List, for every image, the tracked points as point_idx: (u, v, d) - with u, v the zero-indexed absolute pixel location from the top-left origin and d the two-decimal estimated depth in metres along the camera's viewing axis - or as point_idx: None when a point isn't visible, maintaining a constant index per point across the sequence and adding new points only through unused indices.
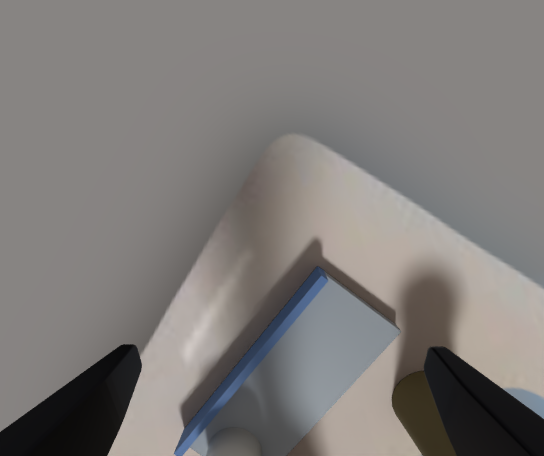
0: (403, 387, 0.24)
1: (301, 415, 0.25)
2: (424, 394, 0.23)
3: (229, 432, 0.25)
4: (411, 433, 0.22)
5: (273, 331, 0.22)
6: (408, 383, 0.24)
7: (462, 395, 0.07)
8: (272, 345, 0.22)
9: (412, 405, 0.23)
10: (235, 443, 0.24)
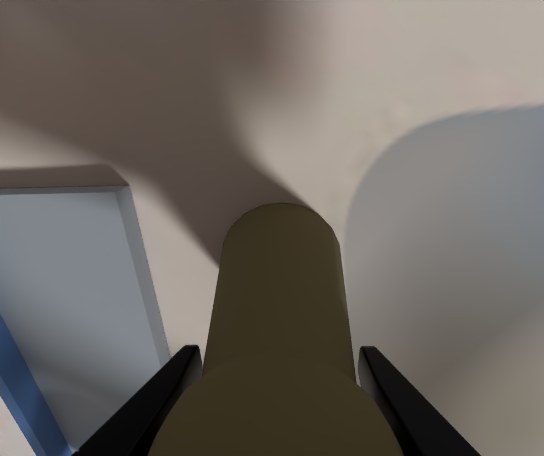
0: None
1: (139, 383, 0.16)
2: (221, 261, 0.12)
3: None
4: None
5: None
6: None
7: (378, 394, 0.07)
8: None
9: None
10: None
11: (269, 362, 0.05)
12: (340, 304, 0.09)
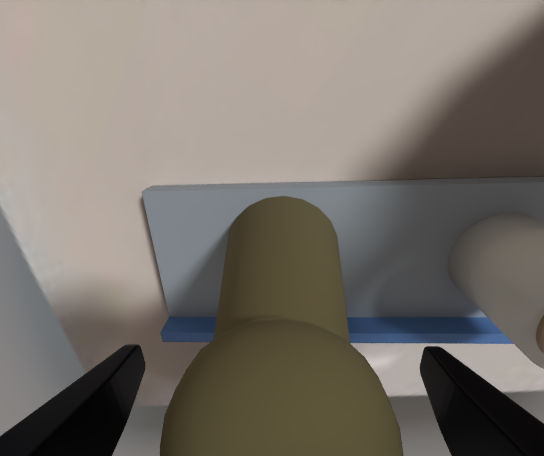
0: None
1: (370, 215, 0.14)
2: (227, 249, 0.13)
3: (461, 290, 0.15)
4: None
5: None
6: None
7: (457, 395, 0.07)
8: None
9: None
10: (467, 293, 0.14)
11: (275, 324, 0.06)
12: (337, 284, 0.09)
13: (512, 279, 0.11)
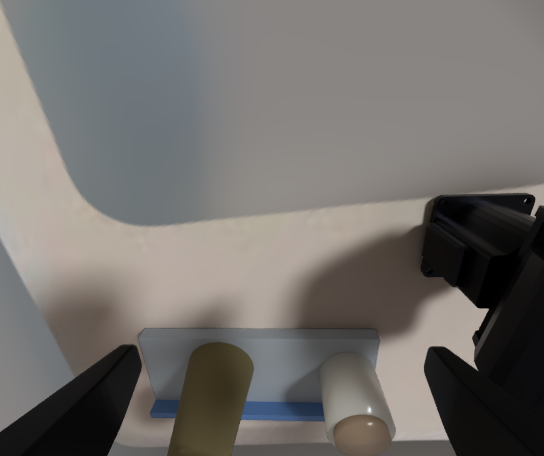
0: None
1: (269, 351, 0.24)
2: (185, 378, 0.23)
3: None
4: None
5: None
6: None
7: (462, 395, 0.07)
8: None
9: None
10: None
11: None
12: (231, 416, 0.20)
13: (327, 405, 0.21)
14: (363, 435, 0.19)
